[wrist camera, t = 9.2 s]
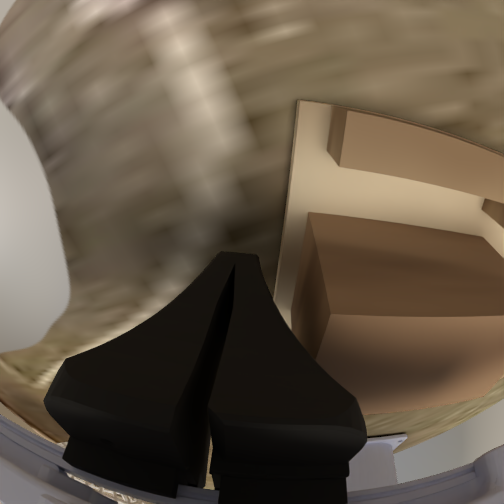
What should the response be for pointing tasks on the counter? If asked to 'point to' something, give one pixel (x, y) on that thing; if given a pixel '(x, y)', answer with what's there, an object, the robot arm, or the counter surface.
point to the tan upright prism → (400, 311)
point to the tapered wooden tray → (384, 180)
